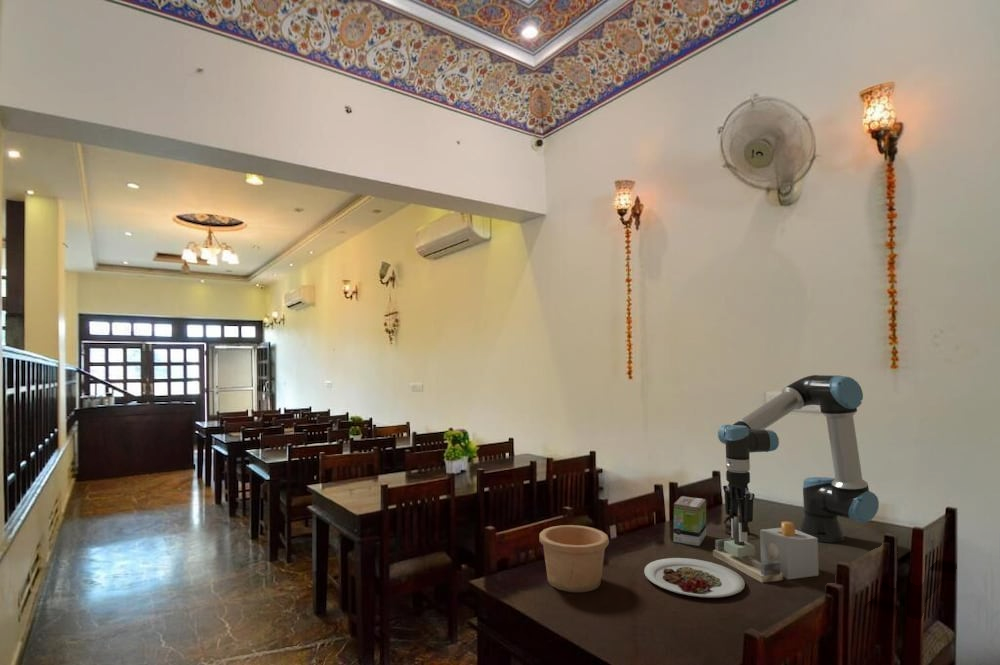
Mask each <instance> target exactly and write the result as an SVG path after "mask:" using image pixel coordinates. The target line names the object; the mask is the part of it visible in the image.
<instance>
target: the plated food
mask: <svg viewBox="0 0 1000 665" xmlns="http://www.w3.org/2000/svg"><path fill="white" fill-rule="evenodd" d="M643 571H644V572H643V573H644V575H645V578H647V580H649V581H650V582H651V583H653V584H654V585H656V586H658V587H660V588H662V589H665V590H667V591H670V592H673V593H676V594H680V595H683V596H684V595H686V596H691V597H698V598H724V597H730V596H733V595H734V596H735V595H736V594H738V593H740V592H742V591H743V590H744V589H745V584H746V583H745V580H744V579H743V577H742V576H741V575H740V574H739V573H737V572H736V571H734V570H733V569H731V568H729V567H726V566H725V565H722V564H717V563H714V562H711V561H707V560H701V559H698V558H696V559H695V558H687V557H686V558H682V557H668V558H662V559H657V560H654V561H651V562H649V563H648V564H646V566H644V570H643Z"/></svg>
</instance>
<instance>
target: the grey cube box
mask: <svg viewBox="0 0 1000 665" xmlns="http://www.w3.org/2000/svg"><path fill="white" fill-rule="evenodd" d="M759 534H760V535H759V540H760V541H759V542H760V543H759V544H760V546H759V547H760V562H761V563H763V562H772V561H777V562H779V563H780V572H781V573H783V578H784V579H787V580H793V579H794V580H795V579H801V578H802V579H803V578H809V577H818V576H819V575H820V574H819V541H818V538H816V537H814V536H811V535H808V534H806V533H803V532H801V531H800V530H798V529H796V528H795V536H791V537H787V536H785V535H782V534H781V527H774V528H766V529H765V528H764V529H760V530H759Z"/></svg>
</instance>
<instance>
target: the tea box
mask: <svg viewBox="0 0 1000 665" xmlns="http://www.w3.org/2000/svg"><path fill="white" fill-rule="evenodd" d="M706 536H707V499H705V498H700V497H699V498H698V497H694V496H693V497H691V496H685V495H682V496H680V497H679V498H678V499H677V500H676V501H674V503H673V542H674V543H678V544H684V545H691V546H695V547H696V546H697V547H699V546H700V545H701V544H702V543H703V541H704V539H705V537H706Z"/></svg>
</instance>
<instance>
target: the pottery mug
mask: <svg viewBox="0 0 1000 665" xmlns="http://www.w3.org/2000/svg"><path fill="white" fill-rule="evenodd" d="M738 516H740V514H738ZM728 521H729V523H730V524H727V522H728ZM723 531H724V533H725V534H726V533H727V532H730V533H731V519H730V517H729V515H727V516H726V517H725V518H724V519H723ZM747 534H748V535H751V530H750V528H749V526H748V532H747Z"/></svg>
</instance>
